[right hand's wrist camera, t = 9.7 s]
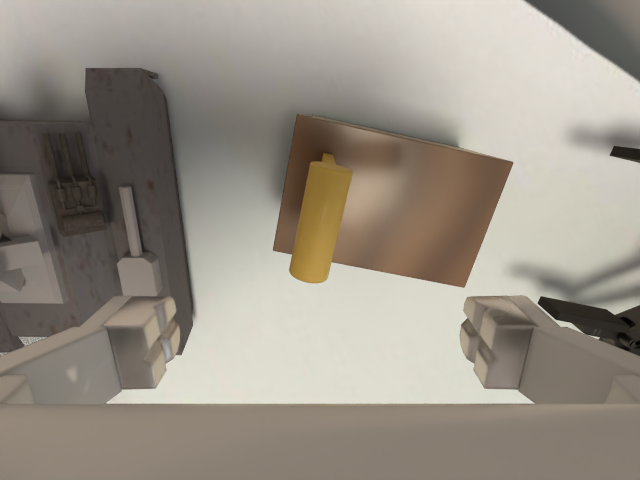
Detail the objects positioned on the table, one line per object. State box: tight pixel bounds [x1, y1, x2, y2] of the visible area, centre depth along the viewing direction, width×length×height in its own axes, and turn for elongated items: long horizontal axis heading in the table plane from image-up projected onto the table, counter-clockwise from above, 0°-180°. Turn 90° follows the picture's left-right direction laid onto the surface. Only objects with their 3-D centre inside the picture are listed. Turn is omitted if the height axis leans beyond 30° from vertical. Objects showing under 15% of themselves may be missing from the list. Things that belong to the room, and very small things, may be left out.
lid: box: [273, 114, 513, 288], centre depth 22 cm, size 15×10×8 cm, turn 78°
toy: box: [0, 68, 193, 355], centre depth 28 cm, size 25×20×15 cm
